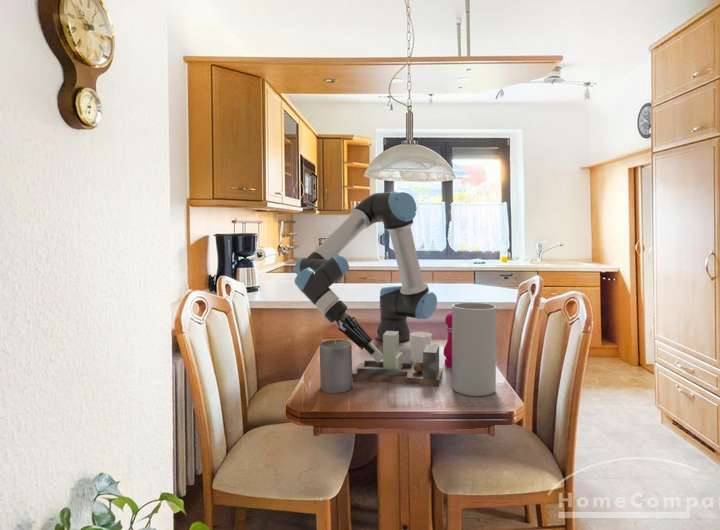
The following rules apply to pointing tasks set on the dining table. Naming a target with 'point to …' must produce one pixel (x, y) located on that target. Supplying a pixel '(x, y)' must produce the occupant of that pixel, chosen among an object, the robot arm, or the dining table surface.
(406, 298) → the robot arm
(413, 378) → the press bench
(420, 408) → the dining table surface
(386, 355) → the block
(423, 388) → the dining table surface
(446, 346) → the pink bowling pin
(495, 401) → the dining table surface
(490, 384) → the cylinder vase
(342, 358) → the pillar candle
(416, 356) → the white cup
